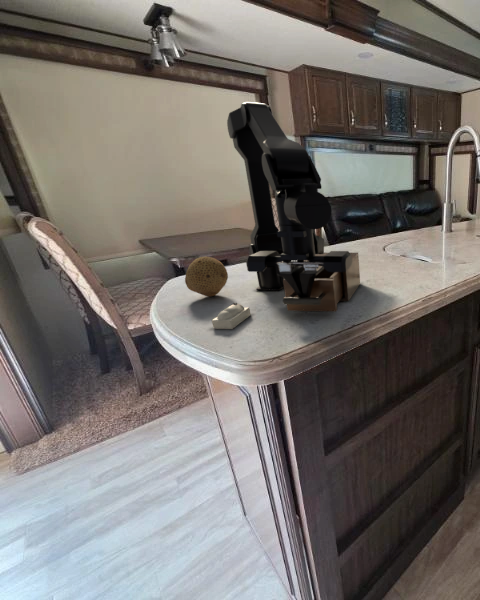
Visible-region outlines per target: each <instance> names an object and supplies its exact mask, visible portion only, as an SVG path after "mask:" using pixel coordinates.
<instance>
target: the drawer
mask: <svg viewBox="0 0 480 600" xmlns="http://www.w3.org/2000/svg"><path fill="white" fill-rule="evenodd" d="M303 271H304V269H303ZM283 283H284V288H283V289H284V295H285V296H284V297H283V298H282V303H283V305H286V308H287V311H288V312H289V311H292V312H293V311H294V312H337V310H338V303H339V302H341V301H340V299H341V298H342V297H343V295H344V294H345V293H344V281H343V272H328V271H327V270H325V269H323V270H322V271H321V272H320V273H319V274H318V275H316V277H315V280H314V283H313V287H312V291H311V295H310V297H298V296H297V294H296V293H295V291H294V290H293V288H292V287H291V286H290V285H289V284H288V282H287V281H286V280H285V279H284V280H283Z"/></svg>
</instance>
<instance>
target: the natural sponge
mask: <svg viewBox="0 0 480 600" xmlns="http://www.w3.org/2000/svg"><path fill="white" fill-rule="evenodd" d="M184 276H185V277H184V283H185V285H186V288H187V289H189V290H190V291H191V292H194V293H197V294H199V295H202V296H204V297H208V298H210V297H214V296H217V294H219V293H220V292H221V291H222V289H223V288H224V287H225V286H226V284H227V282H228V278H229V273H228V271H227V268H226V267H225V265H224V263H222V262H221V261H220V260H218V259H217V258H214V257H211V256H200V257H197V258H196V259H194V260H192V262H191V263H190V264H189V265H188V267H187V269H186V273H185V275H184Z"/></svg>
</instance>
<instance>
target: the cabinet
mask: <svg viewBox="0 0 480 600" xmlns="http://www.w3.org/2000/svg"><path fill="white" fill-rule="evenodd" d="M328 253H329V252H324V254H315V255H316V256H325V255H327V254H328ZM349 253H350V254H351V256H352V266H351V267H350V268H349V269H348V270H347V271H346V272H343V281H344V293H345V294H344V295H343V297H342V298H341V299H340V301H339V302H349V301H350V300H351V298H352V297H353V295H354V294H355V292H356V291H357V290H358V288H359V286H360V285H361V275H360V274H361V273H360V272H361V271H360V260H359V259H360V258H359V252H349ZM304 261H305V260H304ZM306 261H307V260H306Z"/></svg>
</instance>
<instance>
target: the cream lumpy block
mask: <svg viewBox="0 0 480 600" xmlns="http://www.w3.org/2000/svg"><path fill="white" fill-rule="evenodd" d="M250 316H251V310H250V307H249V306H245V307H244V305H242V304H240V303H237V302H233V303H232V304H231V305H230V306H228V307H226V308H225V309H223V310H221V311H220V312H219V313H218V314H217V316H216V317H214V318H213V319H211V323H212V327H213V329H215V330H217V329H218V330H233V329H234V328H236V327H237V326H238V325H240V324H241V323H242V322H244V321H245V320H246V319H248V318H249V317H250Z"/></svg>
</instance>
